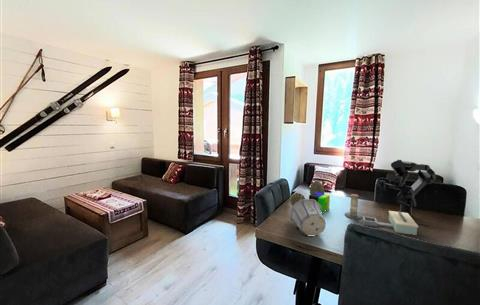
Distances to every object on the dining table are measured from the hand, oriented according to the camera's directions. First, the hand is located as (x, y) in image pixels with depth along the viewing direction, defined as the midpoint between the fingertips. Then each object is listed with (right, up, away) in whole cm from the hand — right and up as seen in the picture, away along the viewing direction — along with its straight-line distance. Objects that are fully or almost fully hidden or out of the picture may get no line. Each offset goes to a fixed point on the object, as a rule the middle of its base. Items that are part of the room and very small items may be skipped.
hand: (388, 198), depth 133 cm
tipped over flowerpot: (-52, -15, -5) cm, 54 cm away
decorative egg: (-29, -9, +39) cm, 50 cm away
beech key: (-17, -12, +8) cm, 22 cm away
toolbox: (-4, -14, -4) cm, 15 cm away
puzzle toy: (-34, -12, +20) cm, 42 cm away
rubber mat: (-17, -13, +8) cm, 23 cm away
